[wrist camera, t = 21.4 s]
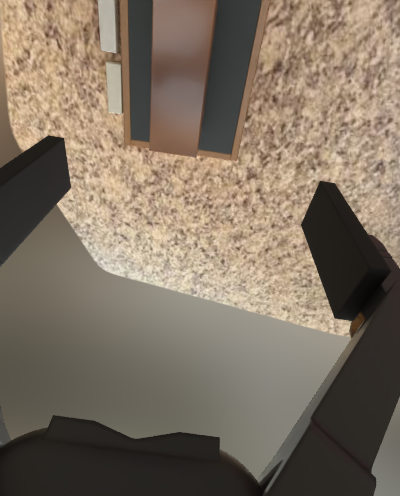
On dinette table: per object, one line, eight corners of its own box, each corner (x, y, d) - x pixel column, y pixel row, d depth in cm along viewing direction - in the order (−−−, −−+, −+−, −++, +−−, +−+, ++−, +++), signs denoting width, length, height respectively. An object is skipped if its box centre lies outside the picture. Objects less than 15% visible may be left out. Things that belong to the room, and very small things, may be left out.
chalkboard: (121, -62, 26) (117, -65, 25) (276, -36, 26) (278, -38, 25) (126, 141, 37) (124, 144, 36) (236, 158, 38) (236, 161, 37)
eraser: (169, -9, 27) (152, -15, 21) (219, 0, 27) (216, -4, 21) (163, 126, 35) (149, 150, 28) (201, 132, 35) (196, 157, 28)
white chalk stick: (123, 63, 32) (108, 60, 32) (120, 64, 31) (105, 61, 31) (124, 111, 35) (111, 109, 35) (121, 114, 34) (108, 112, 34)
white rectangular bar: (117, -10, 28) (101, -13, 28) (113, -11, 27) (96, -14, 27) (119, 52, 31) (104, 49, 31) (116, 53, 30) (100, 50, 30)
